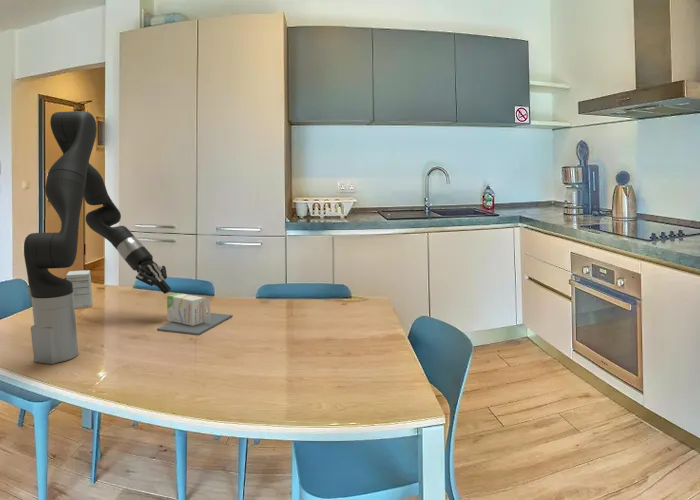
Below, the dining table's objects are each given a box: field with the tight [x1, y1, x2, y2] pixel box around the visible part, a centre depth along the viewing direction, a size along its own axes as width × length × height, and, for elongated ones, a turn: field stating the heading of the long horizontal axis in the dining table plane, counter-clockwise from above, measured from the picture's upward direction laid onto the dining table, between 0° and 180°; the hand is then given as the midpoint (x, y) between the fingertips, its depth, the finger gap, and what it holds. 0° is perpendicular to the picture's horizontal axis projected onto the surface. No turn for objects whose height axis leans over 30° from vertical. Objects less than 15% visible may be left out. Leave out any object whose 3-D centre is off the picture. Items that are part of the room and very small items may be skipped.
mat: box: [156, 311, 233, 336], centre depth 153 cm, size 20×15×1 cm
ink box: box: [166, 292, 211, 326], centre depth 151 cm, size 9×5×15 cm
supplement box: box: [65, 269, 94, 309], centre depth 172 cm, size 7×7×13 cm
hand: (168, 291), depth 155 cm, fingers closed
